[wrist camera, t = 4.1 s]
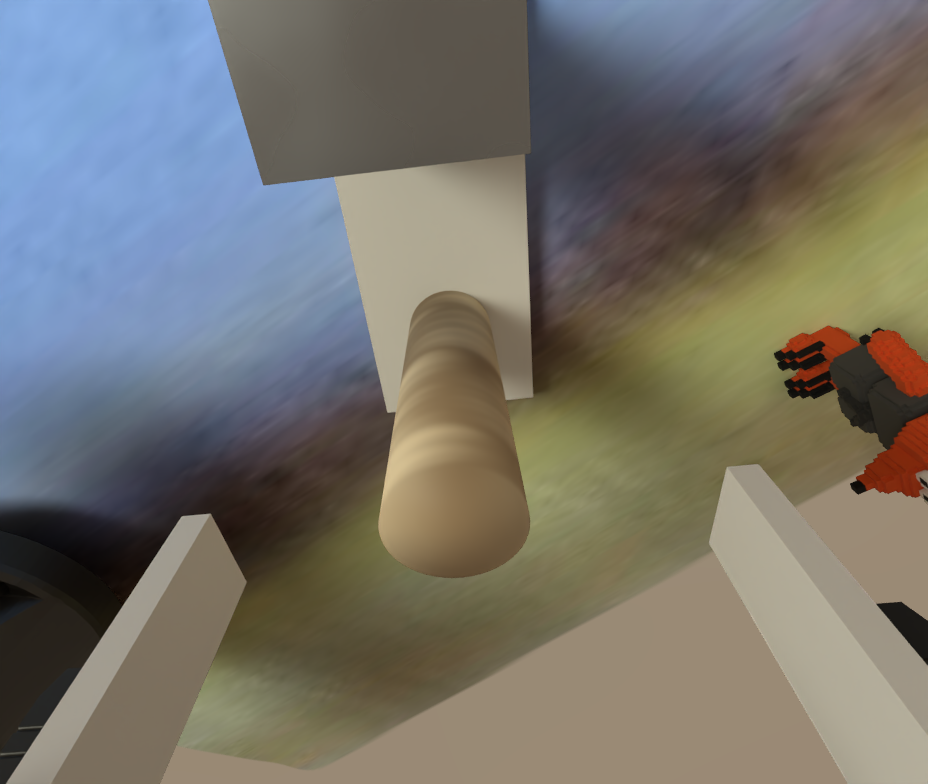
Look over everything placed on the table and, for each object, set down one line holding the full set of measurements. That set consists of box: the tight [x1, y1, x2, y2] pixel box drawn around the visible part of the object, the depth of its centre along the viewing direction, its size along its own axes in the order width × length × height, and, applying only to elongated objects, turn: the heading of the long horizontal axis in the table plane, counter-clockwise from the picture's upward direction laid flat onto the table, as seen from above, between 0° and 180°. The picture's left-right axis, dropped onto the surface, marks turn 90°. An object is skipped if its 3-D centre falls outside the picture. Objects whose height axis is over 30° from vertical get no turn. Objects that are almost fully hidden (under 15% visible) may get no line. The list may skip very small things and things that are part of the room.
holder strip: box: [334, 154, 533, 413], centre depth 21 cm, size 8×20×1 cm, turn 6°
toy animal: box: [774, 326, 928, 504], centre depth 22 cm, size 8×5×12 cm
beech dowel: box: [379, 291, 530, 578], centre depth 18 cm, size 4×4×13 cm
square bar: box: [208, 0, 531, 185], centre depth 12 cm, size 5×5×13 cm
